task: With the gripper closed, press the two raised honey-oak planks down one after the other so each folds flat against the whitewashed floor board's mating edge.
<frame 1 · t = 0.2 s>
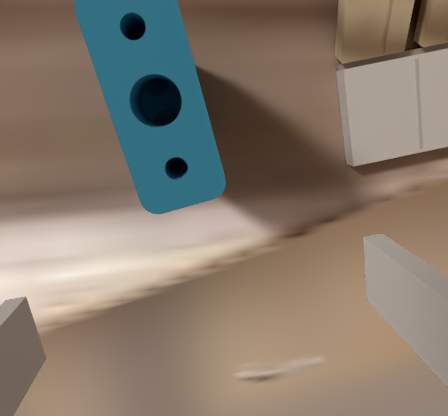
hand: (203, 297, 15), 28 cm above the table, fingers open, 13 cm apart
floor board: (407, 105, 41), on the table
block: (173, 104, 39), on the table
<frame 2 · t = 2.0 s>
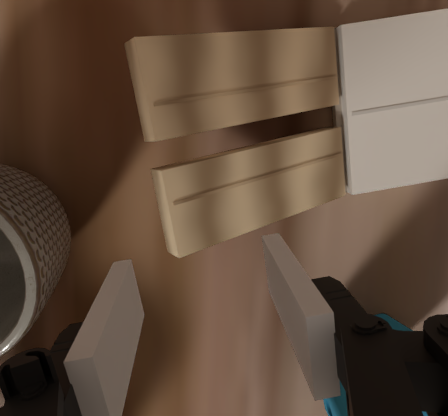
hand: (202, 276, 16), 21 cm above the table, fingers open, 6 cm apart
floor board: (389, 106, 36), on the table
planter: (17, 220, 36), on the table
plank a: (262, 184, 32), point 5 cm above the table, hinge at 28.0°
plank b: (248, 78, 29), point 5 cm above the table, hinge at 28.0°
block: (353, 338, 43), on the table
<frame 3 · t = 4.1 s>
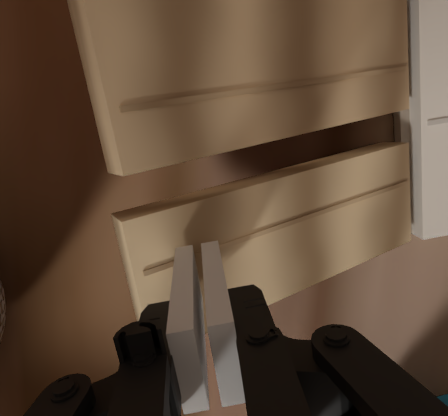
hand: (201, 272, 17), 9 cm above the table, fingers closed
plank a: (289, 229, 21), point 5 cm above the table, hinge at 23.7°, touching gripper
plank b: (280, 67, 18), point 5 cm above the table, hinge at 28.0°
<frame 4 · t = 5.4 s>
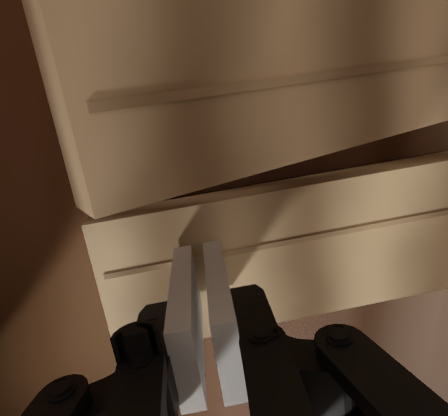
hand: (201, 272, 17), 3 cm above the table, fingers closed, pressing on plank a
plank a: (288, 249, 18), point 1 cm above the table, hinge at 2.2°, touching gripper
plank b: (332, 47, 13), point 5 cm above the table, hinge at 28.0°
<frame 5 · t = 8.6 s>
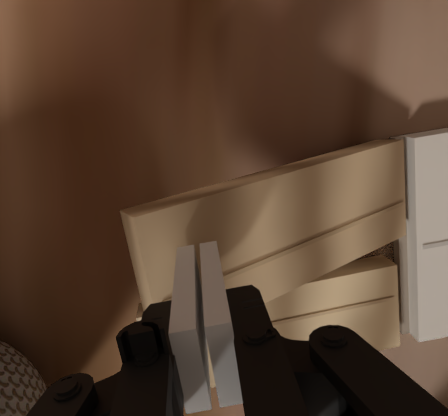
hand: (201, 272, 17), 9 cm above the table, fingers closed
plank a: (272, 325, 27), point 1 cm above the table, hinge at 2.1°
plank b: (291, 225, 21), point 5 cm above the table, hinge at 26.4°, touching gripper
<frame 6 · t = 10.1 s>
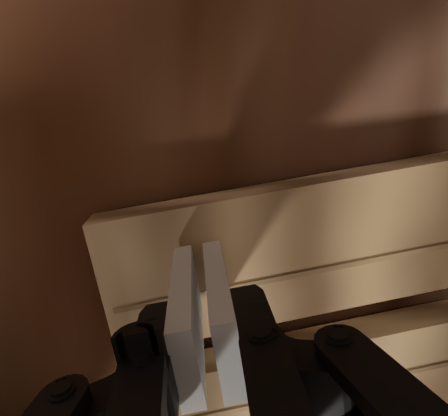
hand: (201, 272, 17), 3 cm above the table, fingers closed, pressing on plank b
plank a: (305, 392, 21), point 1 cm above the table, hinge at 2.1°
plank b: (289, 249, 18), point 1 cm above the table, hinge at 2.3°, touching gripper
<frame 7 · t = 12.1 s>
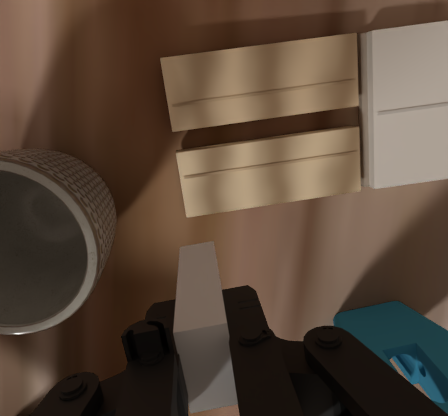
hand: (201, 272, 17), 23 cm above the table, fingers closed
floor board: (412, 106, 39), on the table
planter: (64, 203, 40), on the table
plank a: (269, 171, 38), point 1 cm above the table, hinge at 2.1°
plank b: (261, 83, 36), point 1 cm above the table, hinge at 2.3°
block: (368, 323, 46), on the table
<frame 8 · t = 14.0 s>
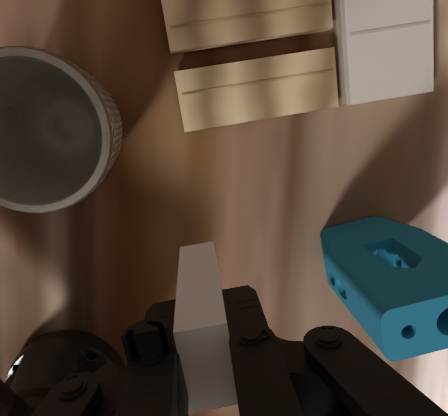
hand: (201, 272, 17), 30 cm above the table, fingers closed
floor board: (381, 31, 44), on the table
planter: (74, 126, 44), on the table
plank a: (257, 90, 43), point 1 cm above the table, hinge at 2.1°
plank b: (247, 8, 41), point 1 cm above the table, hinge at 2.3°
block: (352, 238, 51), on the table
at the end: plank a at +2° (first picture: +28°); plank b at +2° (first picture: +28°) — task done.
